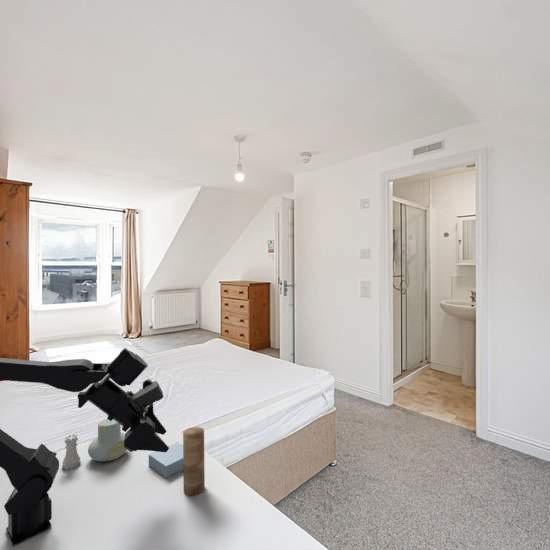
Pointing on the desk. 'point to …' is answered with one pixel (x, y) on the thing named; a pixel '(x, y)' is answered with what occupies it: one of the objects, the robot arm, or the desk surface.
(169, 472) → the pale blue square tile
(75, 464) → the rook chess piece
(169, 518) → the desk surface
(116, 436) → the air freshener
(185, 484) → the walnut pillar
